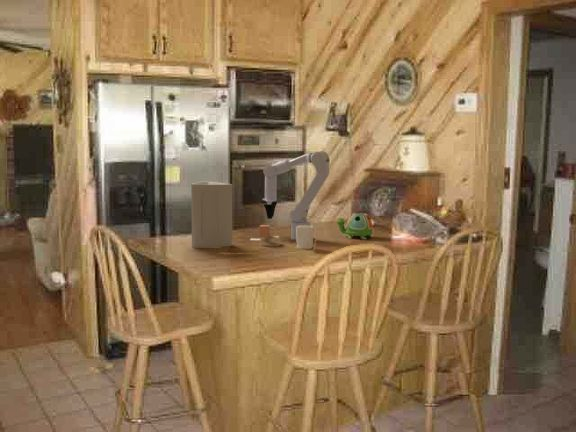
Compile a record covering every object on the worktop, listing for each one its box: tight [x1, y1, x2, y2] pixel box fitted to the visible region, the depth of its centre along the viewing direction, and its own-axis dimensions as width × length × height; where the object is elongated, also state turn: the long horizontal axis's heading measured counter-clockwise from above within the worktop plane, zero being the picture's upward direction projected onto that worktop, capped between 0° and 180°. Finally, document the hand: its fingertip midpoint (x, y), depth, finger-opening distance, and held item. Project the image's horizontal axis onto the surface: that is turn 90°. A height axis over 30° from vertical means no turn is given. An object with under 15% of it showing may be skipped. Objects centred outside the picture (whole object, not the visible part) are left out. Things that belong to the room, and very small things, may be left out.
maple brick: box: [259, 235, 280, 247], centre depth 270 cm, size 8×5×4 cm, turn 86°
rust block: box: [259, 224, 271, 238], centre depth 269 cm, size 4×4×5 cm
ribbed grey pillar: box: [190, 181, 233, 249], centre depth 267 cm, size 19×15×28 cm
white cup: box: [295, 225, 315, 250], centre depth 263 cm, size 8×8×10 cm
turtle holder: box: [336, 212, 374, 240], centre depth 295 cm, size 12×18×12 cm
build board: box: [249, 237, 280, 247], centre depth 276 cm, size 18×19×1 cm
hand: (270, 217), depth 290 cm, fingers open, 7 cm apart
